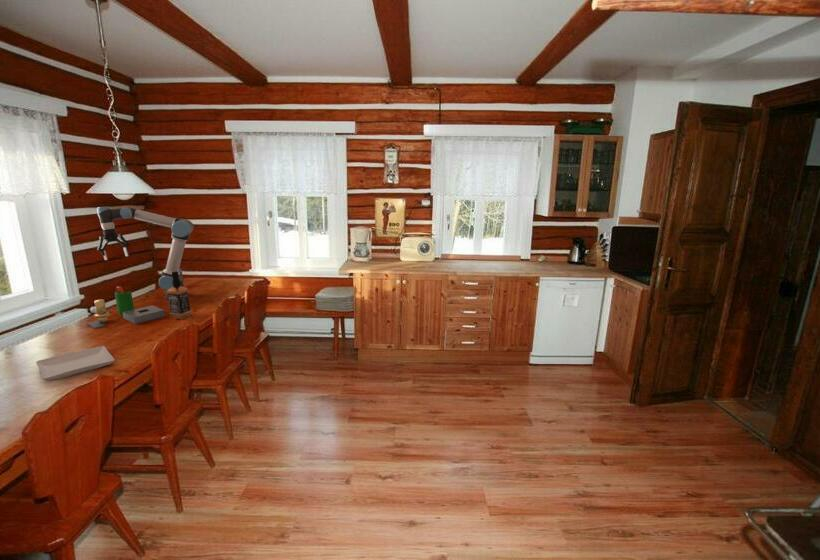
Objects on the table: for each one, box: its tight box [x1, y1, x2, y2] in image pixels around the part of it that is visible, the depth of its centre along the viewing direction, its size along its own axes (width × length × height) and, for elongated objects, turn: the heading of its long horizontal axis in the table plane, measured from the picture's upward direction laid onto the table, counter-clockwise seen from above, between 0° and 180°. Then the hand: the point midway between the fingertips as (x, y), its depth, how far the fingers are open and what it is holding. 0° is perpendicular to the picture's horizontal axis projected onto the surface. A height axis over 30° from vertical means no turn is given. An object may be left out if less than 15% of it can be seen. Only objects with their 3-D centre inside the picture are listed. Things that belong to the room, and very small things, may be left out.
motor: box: [114, 286, 135, 316], centre depth 270 cm, size 10×9×20 cm
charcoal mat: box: [86, 320, 109, 330], centre depth 252 cm, size 14×14×1 cm
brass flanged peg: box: [93, 298, 110, 323], centre depth 251 cm, size 8×8×15 cm
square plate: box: [35, 345, 116, 381], centre depth 194 cm, size 27×27×4 cm
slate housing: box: [122, 304, 166, 325], centre depth 260 cm, size 18×18×6 cm
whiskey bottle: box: [166, 272, 193, 321], centre depth 261 cm, size 10×10×32 cm
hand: (116, 258), depth 280 cm, fingers open, 13 cm apart
